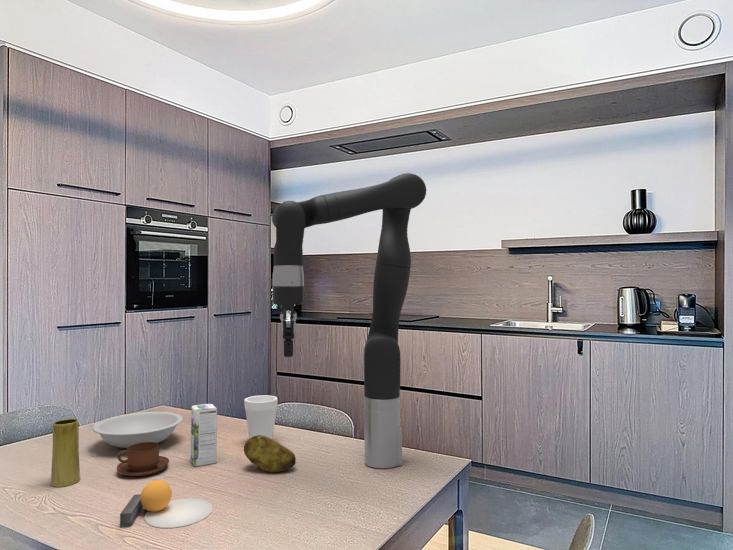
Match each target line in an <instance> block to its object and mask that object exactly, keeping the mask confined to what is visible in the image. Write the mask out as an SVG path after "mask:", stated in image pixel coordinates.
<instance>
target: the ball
mask: <svg viewBox="0 0 733 550" xmlns="http://www.w3.org/2000/svg"><path fill="white" fill-rule="evenodd" d="M140 494H141V496H140V501H141V504H142V506H143V509H144V510H146V511H147V512H148V511H151V512H157V511H160V510H162V509H164V508H165V507H166V506H167V505H168V504H169V502H170V501H172V500H171V499H172V489H171V486H170V484H168V483H167V481H164V480H160V479H157V480H152V481H150V482H148V483H146V485H145V486H144V487H143V489H142V490H141V493H140Z"/></svg>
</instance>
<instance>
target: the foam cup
mask: <svg viewBox="0 0 733 550" xmlns="http://www.w3.org/2000/svg"><path fill="white" fill-rule="evenodd" d="M278 407H279V406H278V397H277V396H275V395H267V394H266V395H252V396H249V397H246V398H244V410H245V416H246V423H247V425H246V426H247V431H248V438H249V439H250V438H252V437H253V436H258V435H261V436H267V437H269V438H270V439H272V440H274V433H275V423H276V416H277V409H278Z"/></svg>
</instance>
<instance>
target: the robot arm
mask: <svg viewBox="0 0 733 550" xmlns="http://www.w3.org/2000/svg"><path fill="white" fill-rule="evenodd" d="M426 195H427V187H426V183H425V181H424V180H423V178H421V176H419V175H417V174H415V173H411V172H409V173H408V172H405V173H401V174H399V175H397V176H394V177H392V178H390V179H388V180H387V181H385V182H381V183H378V184H374V185H370V186H366V187H360V188H354V189H348V190H343V191H341V190H340V191H337V192H331V193H327V194H326V193H325V194H322V195H321V194H320V195H317V196H314V197H312V198H310V199H307V200H303V201H295V200H286V201H282V202H281V203H280V204H278V205H277V207H276V208H274V210H273V212H272V216H271V221H272V224H273V226H274V228H275V243H274V247H273V270H272V271H273V272H272V304H273V305H277V306H281V305H282V306H283V311H280V312H279V319H280V321H281V322H280V324H281V325H280V327H281V328H280V330H281V331H280V332H282V340H283V357H284V358H292V357H293V356H294V340H295V332H296V325H297V324H296V321H297V316H298V315H297V314H298V313H297V311H294V306H295V305H296V306H297V305H303V304H304V303H305V274H304V266H303V265H304V255H303V254H304V253H303V245H304V244H303V243H304V238H305V237H304V235H305V229H307V228H309V227H313V226H316V225H323V224H330V223H334V222H338V221H339V222H340V221H344V220H347V219H350V218H354V217H357V216H361V215H363V214H367V213H372V212H376V211H380V210H382V218H381V229H380V230H381V231H380V236H379V243H378V247H377V249H378V250H377V255H376V260H375V268H374V275H373V284H372V285H373V286H372V288H373V289H372V316H371V321H370V325H369V326H370V327H369V330H368V334H367V338H366V341H365V345H364V348H363V378H364V379H363V381H364V382H363V391H364V392H363V393H364V400H363V401H364V403H363V405H364V407H363V408H364V409H363V410H364V411H363V413H364V419H363V420H364V421H363V422H364V424H363V425H364V427H363V428H364V436H363V437H364V440H363V441H364V455H363V457H364V464H365V465H366V466H368V467H370V468H375V469H390V468H395V467H399V466H403V430H402V426H401V419H400V418H401V416H400V415H401V414H400V411H401V406H400V405H401V403H400V402H401V398H400V397H401V394H400V393H401V349H400V346H399V327H400V326H399V325H400V317H401V313H402V312H401V311H402V310H403V305H404V303H405V299H406V295H407V292H408V288H409V282H410V274H411V268H412V255H411V249H410V243H409V236H408V227H409V221H410V214H411V211H412V209H415V208H417V207H419V206H420V205H421V204H422V203H423V201H424V200H425V198H426Z"/></svg>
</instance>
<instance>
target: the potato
mask: <svg viewBox="0 0 733 550" xmlns="http://www.w3.org/2000/svg"><path fill="white" fill-rule="evenodd" d="M243 451H244V452H243V453H244V455H245V457H246V458H247V459H248V460H249V462H250V463H252V464H253V465H255V466H257V467H258V468H260V469H261V470H262V471H264V472H267V473H268V472H270V473H277V472H278V473H279V472H285V471H289V470H290V469H292V468H293V467H294V466H295V465H296V461H297V460H296V458H297V457H296V454H295V452H293V451H292V449H289V448H288V447H286V446H284V445H282V444H281V443H279V442H278V441H276V440H274V439H273V440H272V439H270V438H269V437H267V436H261V435H258V436H253V437H252V438H250V439H247V440H246V441H245V443H244V446H243Z"/></svg>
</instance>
